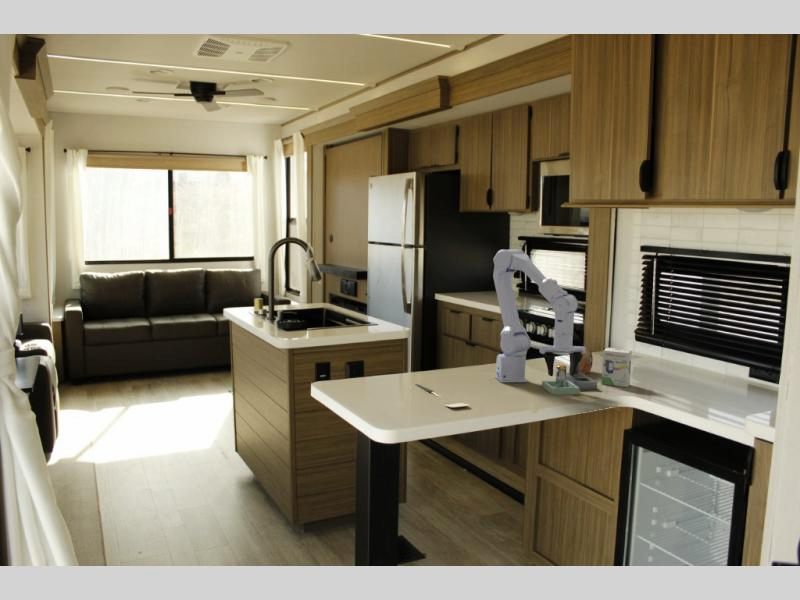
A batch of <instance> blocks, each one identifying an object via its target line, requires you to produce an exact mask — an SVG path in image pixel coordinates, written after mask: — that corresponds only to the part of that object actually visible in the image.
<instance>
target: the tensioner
mask: <svg viewBox="0 0 800 600" xmlns="http://www.w3.org/2000/svg"><path fill="white" fill-rule="evenodd" d="M578 371H579V367H578V365H577V368H576V370H575V374H574V376H571V375H570V374H569V372H566V381H570V382H571V383H573V384H574V385H576V386H578V387H579V388H580V390H579V391H590V390H591V391H593V390H597V389H598V381H596V380H594V379H593V378H591V377H589V376H588V375H587V374H585V375H584V374H583V373H578Z"/></svg>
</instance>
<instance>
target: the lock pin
mask: <svg viewBox="0 0 800 600" xmlns="http://www.w3.org/2000/svg"><path fill="white" fill-rule="evenodd" d="M555 371H556V373H555V381H556V386H555V387H565V381H566V373H567V365H565V364H556V370H555Z"/></svg>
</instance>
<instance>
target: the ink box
mask: <svg viewBox="0 0 800 600" xmlns="http://www.w3.org/2000/svg"><path fill="white" fill-rule="evenodd" d="M602 352H603V353H602V370H601V371H602V373H601V377H602V378H601V385H605V386H614V387H623V388H628V387H629V386H630V384H631V373H632V371H631V370H632V356H633V355H632V353H633V351H632V350H630V349H622V348H615V347H605V349H603V350H602Z"/></svg>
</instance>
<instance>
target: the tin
mask: <svg viewBox="0 0 800 600" xmlns="http://www.w3.org/2000/svg"><path fill="white" fill-rule="evenodd" d="M592 353H593V352H592V350H590V349H586V351H585V354H582V353H581V354H582V359H581V360H580V362H579V363H578V367H579V371H578V373H583V374H584V375H587V374H589V373H590V372H591V370H592V368H593V361H594V360H593V354H592Z"/></svg>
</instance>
